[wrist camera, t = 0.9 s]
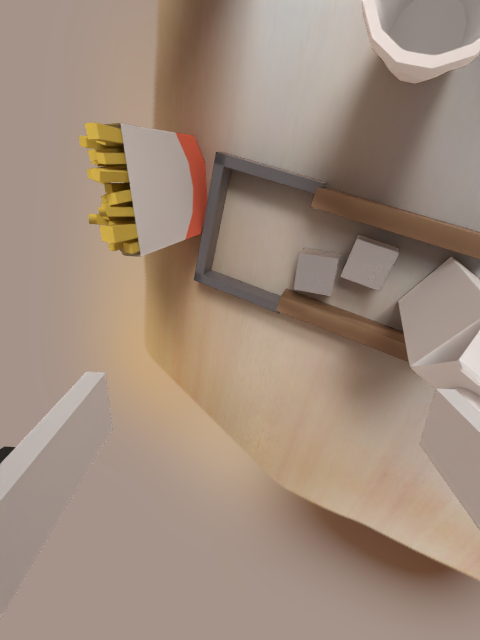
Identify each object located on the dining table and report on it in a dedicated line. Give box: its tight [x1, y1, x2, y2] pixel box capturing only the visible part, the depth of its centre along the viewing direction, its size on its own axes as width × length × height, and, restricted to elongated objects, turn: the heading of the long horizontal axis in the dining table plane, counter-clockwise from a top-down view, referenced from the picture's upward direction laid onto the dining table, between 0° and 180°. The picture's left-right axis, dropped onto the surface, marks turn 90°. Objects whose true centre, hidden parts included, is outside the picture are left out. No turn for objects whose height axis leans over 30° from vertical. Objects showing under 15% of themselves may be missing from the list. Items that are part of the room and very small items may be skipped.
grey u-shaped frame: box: [194, 152, 327, 314], centre depth 40 cm, size 16×13×2 cm
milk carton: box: [398, 257, 480, 412], centre depth 28 cm, size 7×7×19 cm
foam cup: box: [362, 0, 480, 84], centre depth 23 cm, size 10×9×13 cm
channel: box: [276, 187, 480, 362], centre depth 36 cm, size 15×19×3 cm
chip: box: [294, 248, 341, 296], centre depth 39 cm, size 4×4×3 cm
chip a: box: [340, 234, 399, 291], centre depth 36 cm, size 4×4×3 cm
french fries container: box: [79, 123, 207, 257], centre depth 34 cm, size 5×11×18 cm, turn 1°
